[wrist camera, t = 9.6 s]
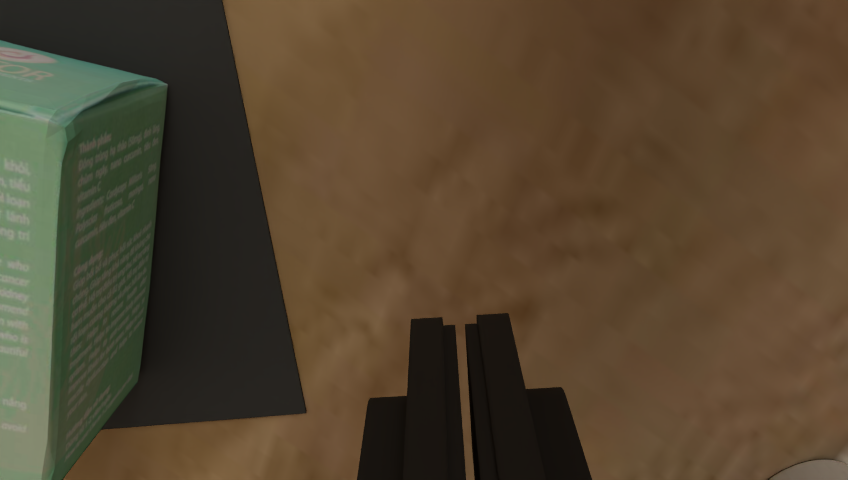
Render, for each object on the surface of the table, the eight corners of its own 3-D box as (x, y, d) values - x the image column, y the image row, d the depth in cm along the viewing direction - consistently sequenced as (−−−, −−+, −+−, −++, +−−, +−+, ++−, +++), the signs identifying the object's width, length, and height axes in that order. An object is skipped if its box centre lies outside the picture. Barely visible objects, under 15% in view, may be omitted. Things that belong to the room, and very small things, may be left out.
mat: (-146, -41, 20) (-148, -42, 20) (206, -77, 20) (205, -78, 20) (50, 432, 28) (49, 433, 28) (306, 411, 28) (305, 413, 27)
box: (174, 72, 22) (57, 111, 15) (147, 376, 27) (49, 512, 20) (-39, 17, 21) (-268, 32, 14) (-26, 340, 26) (-189, 469, 19)
